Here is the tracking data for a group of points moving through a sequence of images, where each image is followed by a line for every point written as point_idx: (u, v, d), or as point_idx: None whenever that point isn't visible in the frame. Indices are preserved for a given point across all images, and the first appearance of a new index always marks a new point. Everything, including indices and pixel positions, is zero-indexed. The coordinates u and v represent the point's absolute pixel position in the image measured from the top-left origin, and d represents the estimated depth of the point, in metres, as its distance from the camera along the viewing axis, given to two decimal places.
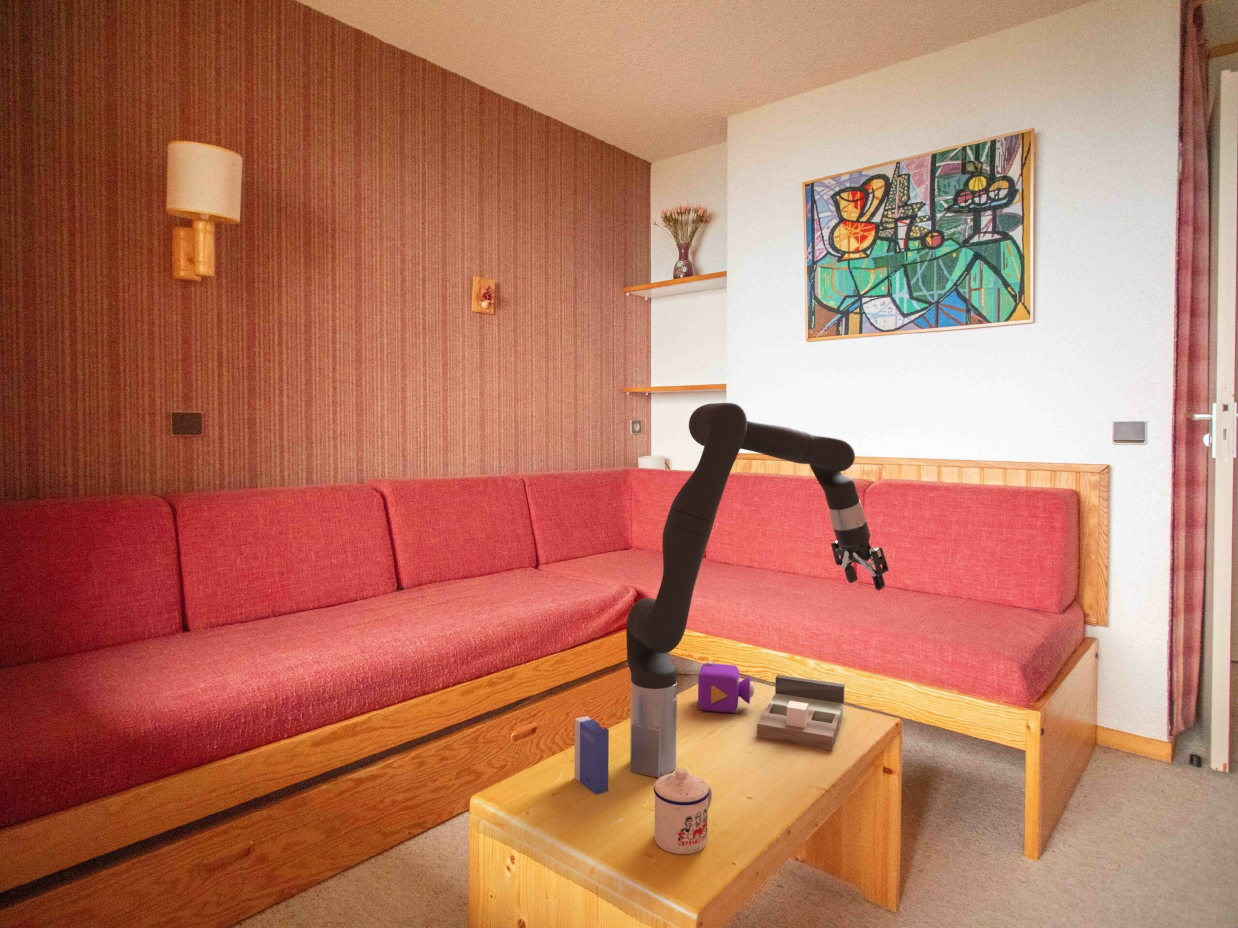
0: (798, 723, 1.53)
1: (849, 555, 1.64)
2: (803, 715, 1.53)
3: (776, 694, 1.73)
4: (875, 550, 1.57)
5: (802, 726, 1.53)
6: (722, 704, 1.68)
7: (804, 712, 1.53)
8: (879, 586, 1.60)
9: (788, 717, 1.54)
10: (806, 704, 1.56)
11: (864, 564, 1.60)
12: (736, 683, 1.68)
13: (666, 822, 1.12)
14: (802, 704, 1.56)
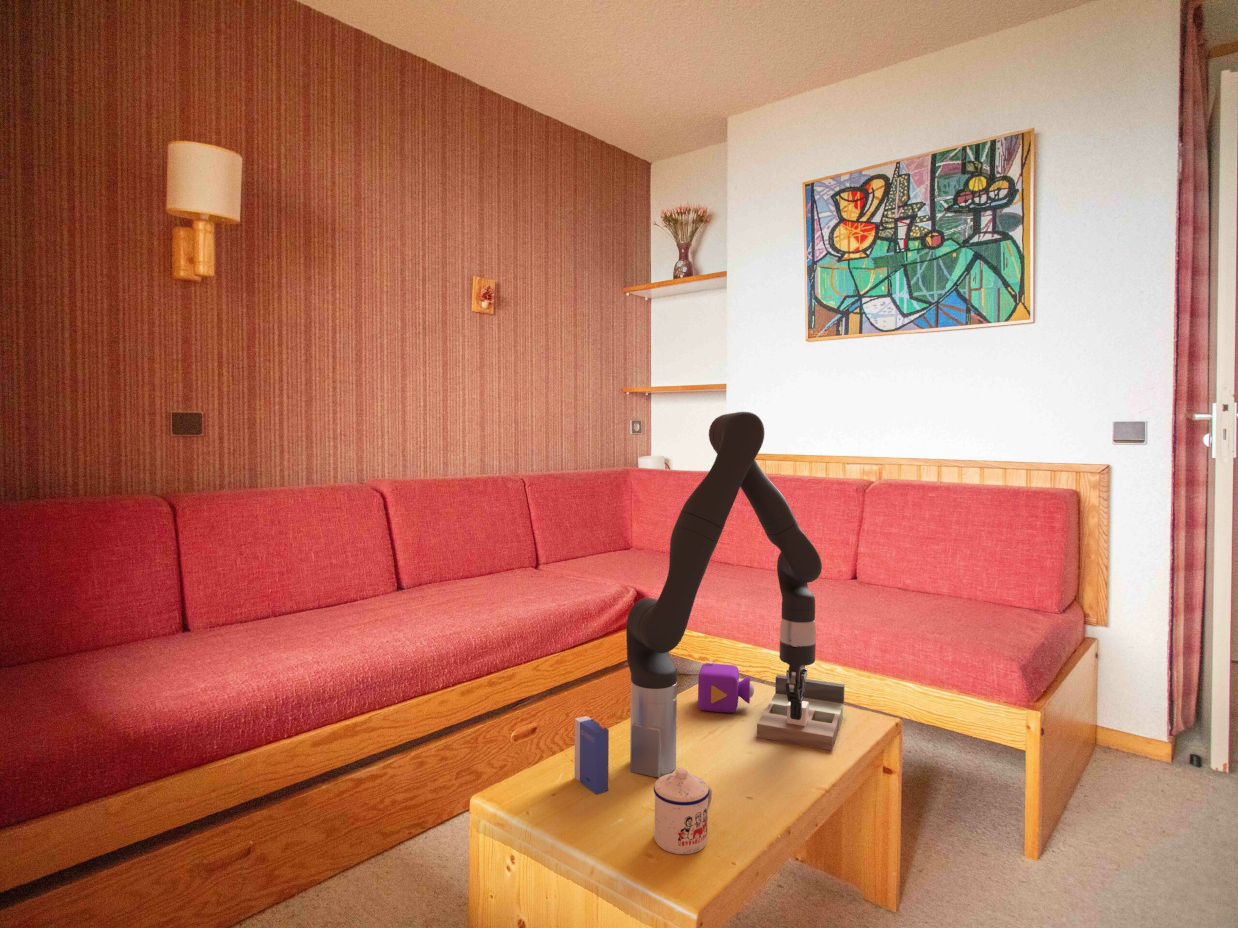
0: (798, 721, 1.54)
1: None
2: (803, 713, 1.54)
3: (776, 694, 1.73)
4: (789, 686, 1.47)
5: (802, 724, 1.54)
6: (722, 704, 1.68)
7: (804, 710, 1.54)
8: (791, 714, 1.52)
9: (788, 715, 1.55)
10: (806, 702, 1.57)
11: None
12: (736, 683, 1.68)
13: (666, 822, 1.12)
14: (802, 702, 1.57)
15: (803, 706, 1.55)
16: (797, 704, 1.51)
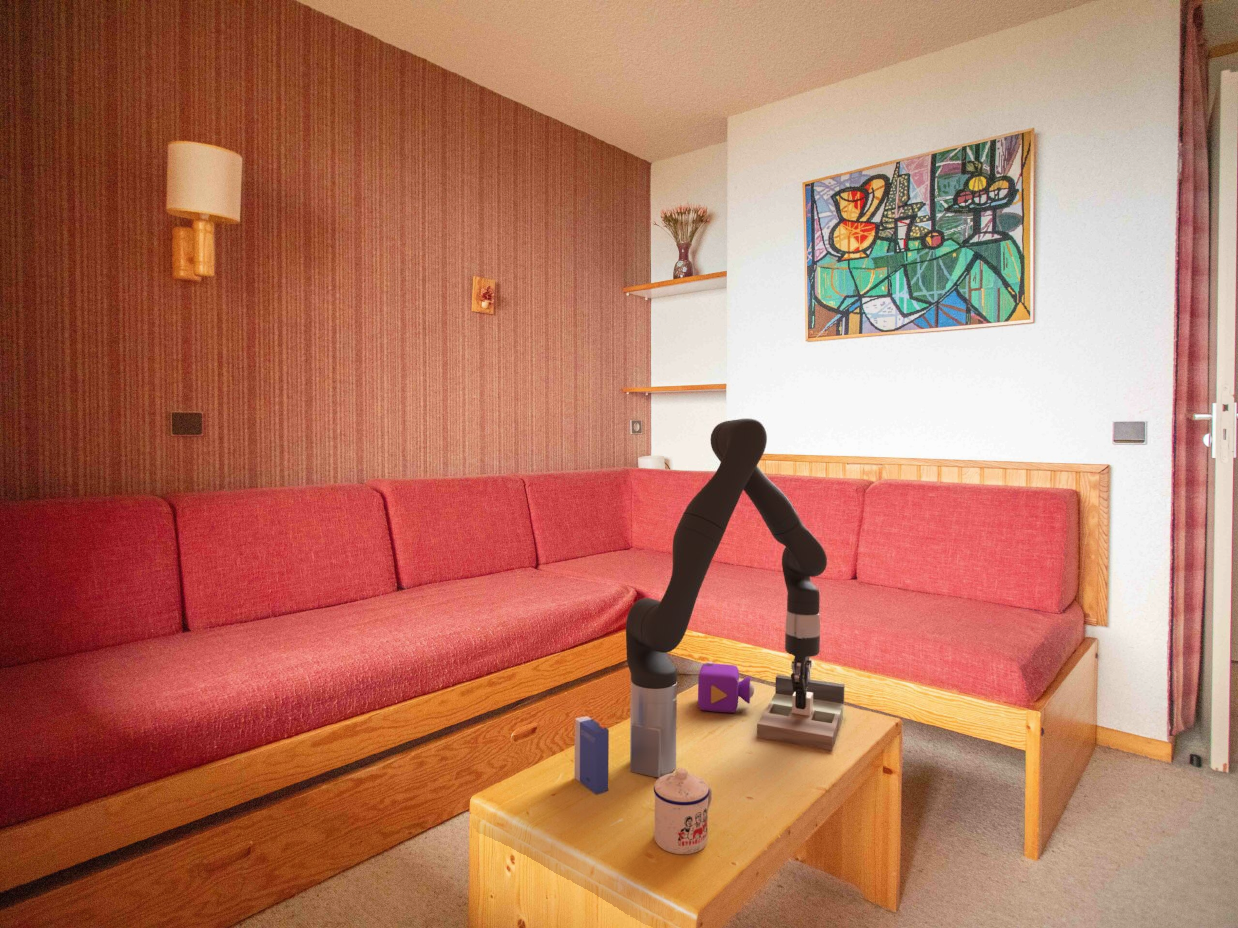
0: (803, 711, 1.60)
1: None
2: (808, 703, 1.60)
3: (776, 694, 1.73)
4: (794, 676, 1.53)
5: (807, 713, 1.60)
6: (722, 704, 1.68)
7: (809, 700, 1.60)
8: (796, 704, 1.58)
9: (794, 705, 1.61)
10: (811, 693, 1.63)
11: None
12: (736, 683, 1.68)
13: (666, 822, 1.12)
14: (807, 693, 1.63)
15: (808, 696, 1.60)
16: (802, 694, 1.57)
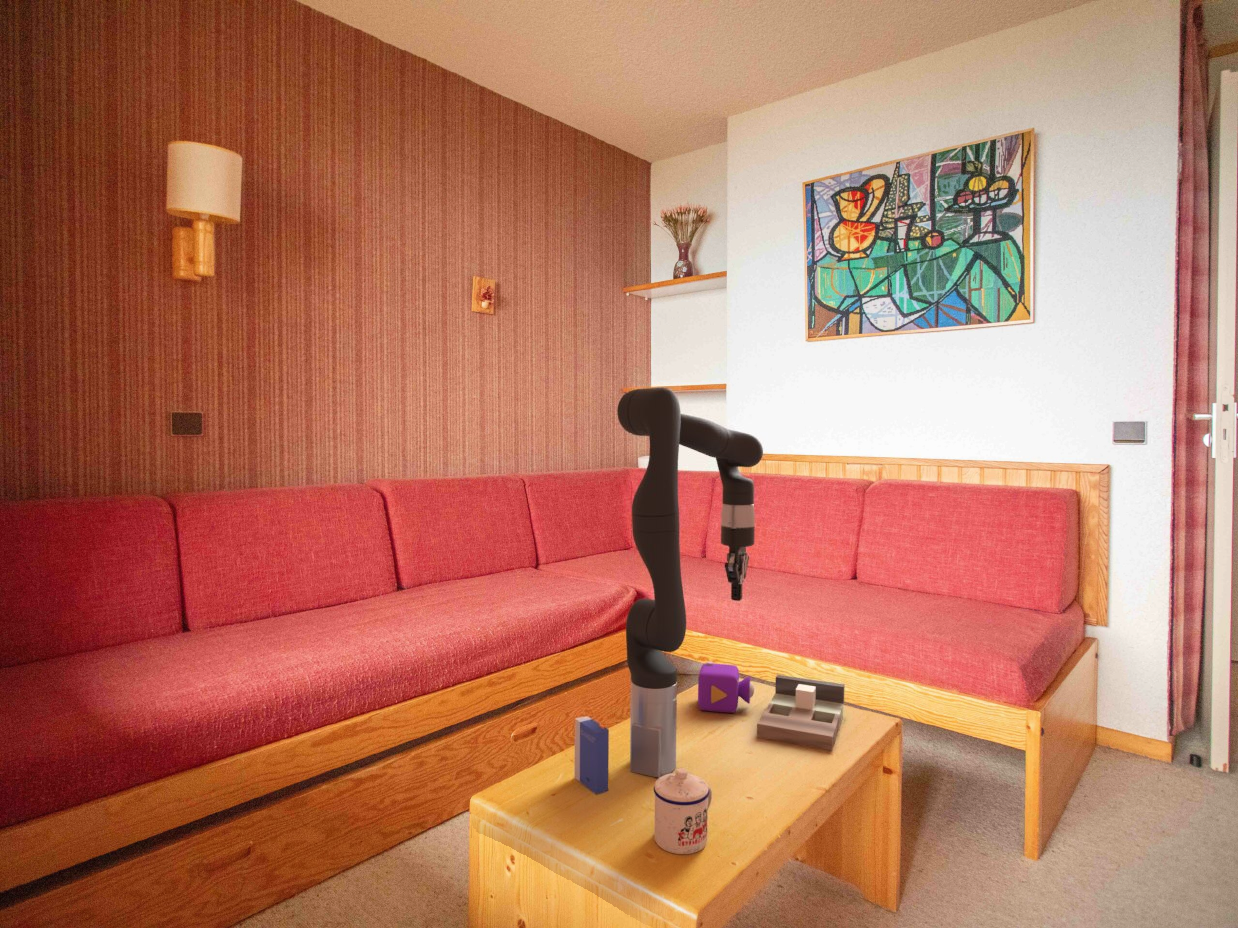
0: (806, 704, 1.64)
1: None
2: (811, 697, 1.64)
3: (776, 694, 1.73)
4: (728, 564, 1.54)
5: (810, 707, 1.64)
6: (722, 704, 1.68)
7: (812, 694, 1.64)
8: None
9: (797, 699, 1.65)
10: (814, 687, 1.66)
11: None
12: (736, 683, 1.68)
13: (666, 822, 1.12)
14: (810, 687, 1.66)
15: (811, 690, 1.64)
16: (737, 585, 1.58)
